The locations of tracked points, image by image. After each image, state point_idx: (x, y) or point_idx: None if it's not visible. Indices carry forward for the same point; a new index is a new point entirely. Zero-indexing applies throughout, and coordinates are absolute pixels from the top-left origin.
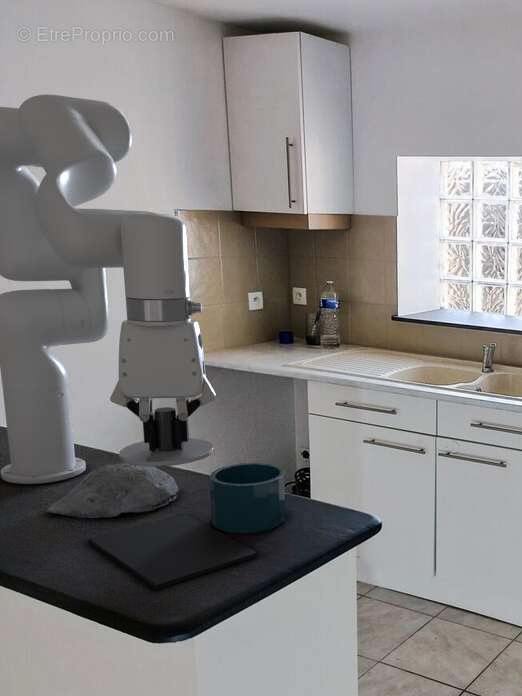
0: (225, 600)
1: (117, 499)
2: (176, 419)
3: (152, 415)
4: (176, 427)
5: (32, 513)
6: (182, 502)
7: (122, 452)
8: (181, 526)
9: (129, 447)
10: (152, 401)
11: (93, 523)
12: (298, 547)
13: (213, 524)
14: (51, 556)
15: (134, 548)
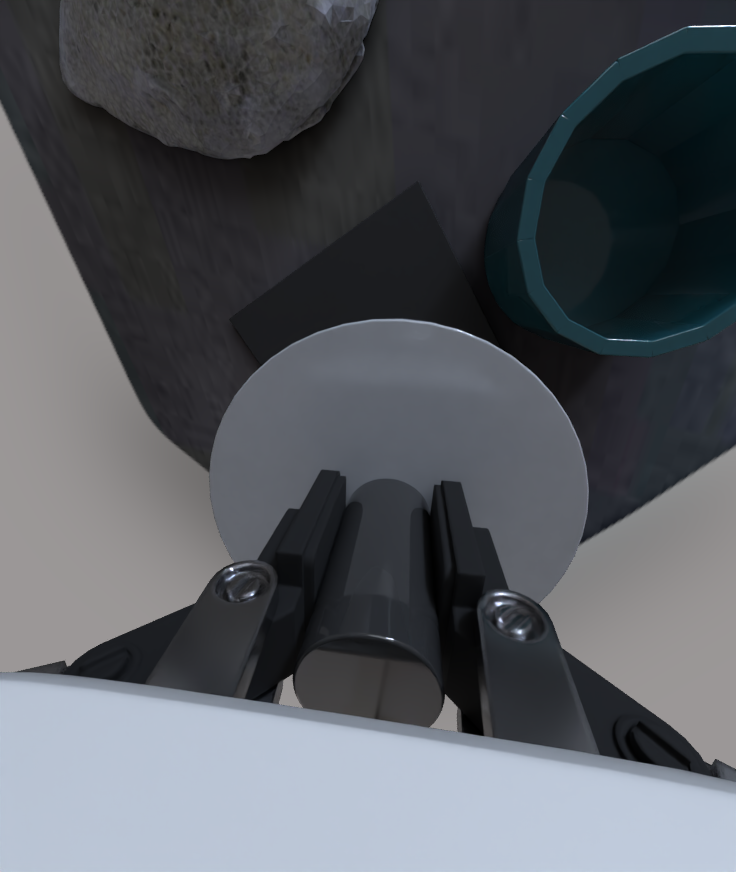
0: None
1: (228, 118)
2: (440, 633)
3: (292, 659)
4: None
5: (35, 69)
6: (405, 24)
7: (225, 522)
8: (412, 284)
9: (231, 459)
10: (244, 677)
11: (206, 188)
12: (649, 441)
13: (486, 273)
14: (189, 373)
15: None
